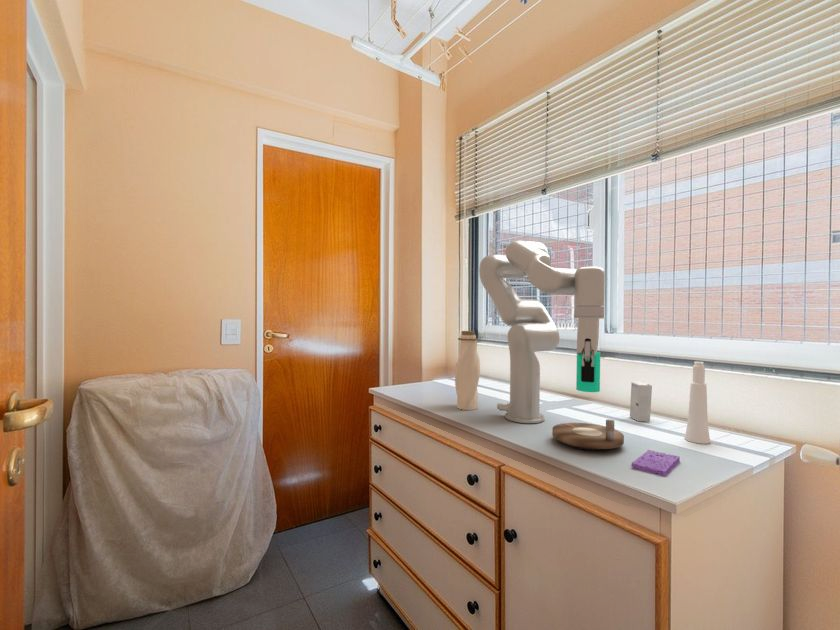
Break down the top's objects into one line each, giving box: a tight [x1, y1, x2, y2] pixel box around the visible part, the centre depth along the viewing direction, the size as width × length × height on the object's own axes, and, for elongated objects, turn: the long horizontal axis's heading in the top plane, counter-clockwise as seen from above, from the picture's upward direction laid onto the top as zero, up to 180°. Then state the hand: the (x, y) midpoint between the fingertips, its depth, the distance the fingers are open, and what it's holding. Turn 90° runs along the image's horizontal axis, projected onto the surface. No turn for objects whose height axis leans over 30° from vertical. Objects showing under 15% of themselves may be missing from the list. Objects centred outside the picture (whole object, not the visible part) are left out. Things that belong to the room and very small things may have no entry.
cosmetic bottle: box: [684, 361, 711, 445], centre depth 117 cm, size 6×6×22 cm
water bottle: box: [454, 330, 481, 411], centre depth 154 cm, size 10×9×28 cm
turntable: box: [551, 418, 625, 450], centre depth 114 cm, size 18×18×7 cm
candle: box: [575, 351, 601, 393], centre depth 114 cm, size 6×6×12 cm
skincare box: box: [629, 381, 653, 422], centre depth 139 cm, size 6×4×12 cm
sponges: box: [630, 449, 681, 477], centre depth 99 cm, size 7×13×2 cm, turn 136°
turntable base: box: [566, 444, 608, 452], centre depth 114 cm, size 12×12×1 cm
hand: (588, 379), depth 114 cm, fingers closed on candle, 4 cm apart
